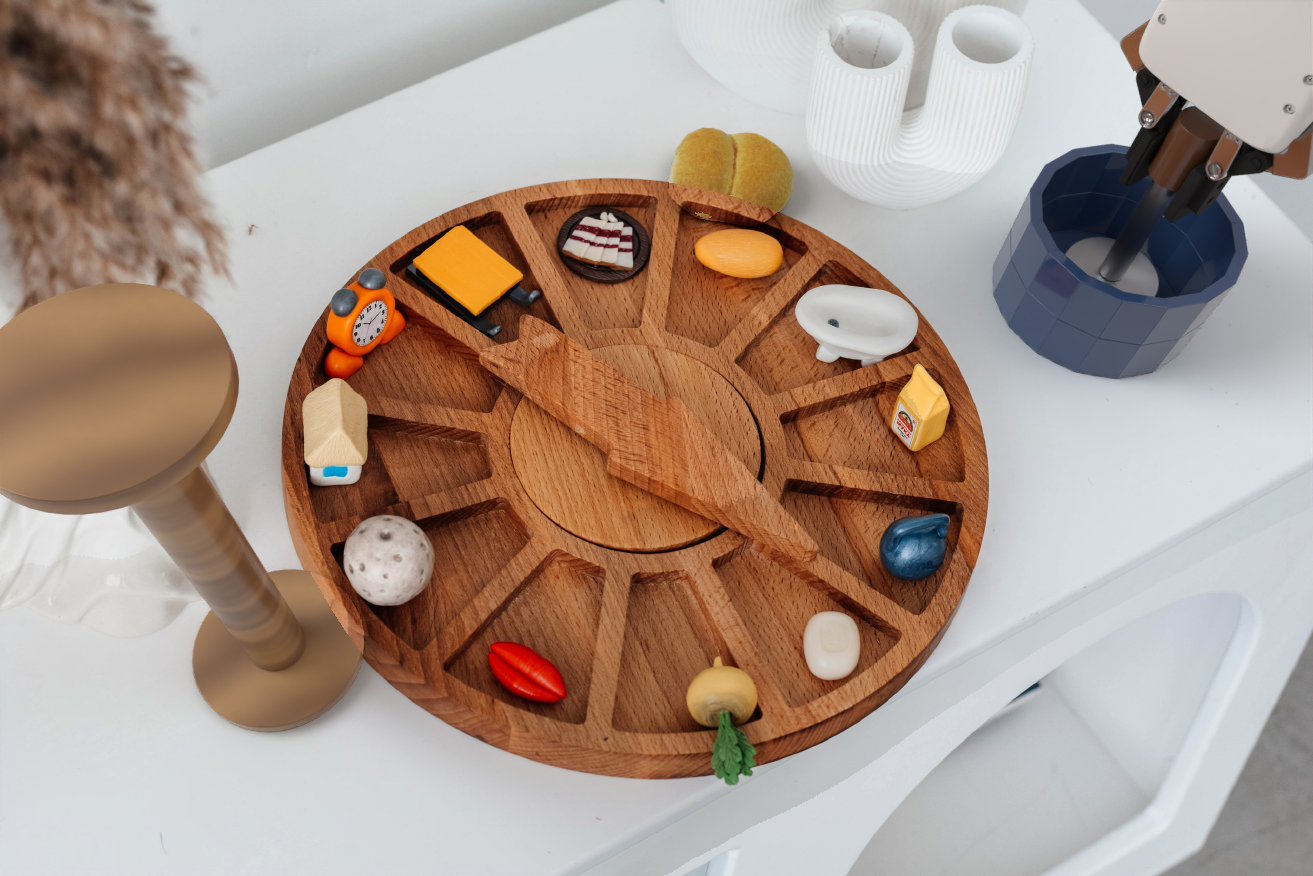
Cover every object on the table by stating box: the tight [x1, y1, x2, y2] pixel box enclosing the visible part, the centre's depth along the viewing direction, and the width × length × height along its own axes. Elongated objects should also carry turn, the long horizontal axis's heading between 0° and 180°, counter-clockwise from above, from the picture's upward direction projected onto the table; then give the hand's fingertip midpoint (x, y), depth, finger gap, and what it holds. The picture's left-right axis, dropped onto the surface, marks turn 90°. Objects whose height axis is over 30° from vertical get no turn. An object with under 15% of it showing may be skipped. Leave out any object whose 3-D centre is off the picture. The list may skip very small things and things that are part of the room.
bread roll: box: [667, 127, 794, 219], centre depth 77 cm, size 8×9×4 cm
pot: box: [992, 143, 1249, 380], centre depth 72 cm, size 14×14×8 cm
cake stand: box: [0, 282, 364, 733], centre depth 48 cm, size 9×9×26 cm
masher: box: [1065, 105, 1225, 297], centre depth 67 cm, size 6×6×14 cm
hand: (1161, 191), depth 65 cm, fingers closed on masher, 2 cm apart
